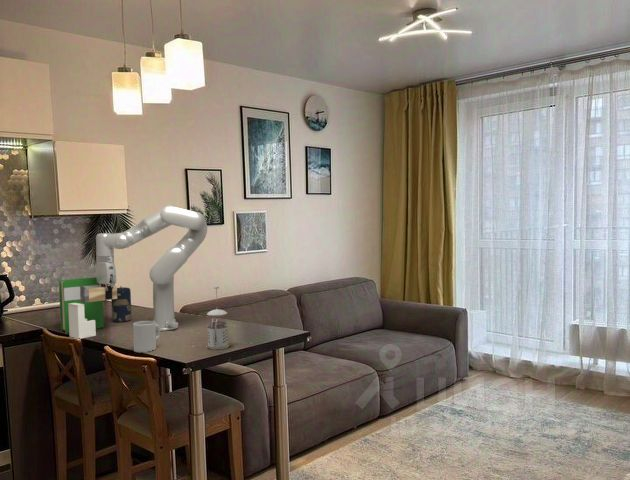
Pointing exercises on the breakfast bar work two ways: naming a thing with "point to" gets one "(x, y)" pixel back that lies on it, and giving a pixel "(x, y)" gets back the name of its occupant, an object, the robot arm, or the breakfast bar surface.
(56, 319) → the breakfast bar surface
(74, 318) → the white stepped block
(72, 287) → the hardback book
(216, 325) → the french press
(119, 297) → the canister
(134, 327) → the mug
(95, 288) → the light wood block
